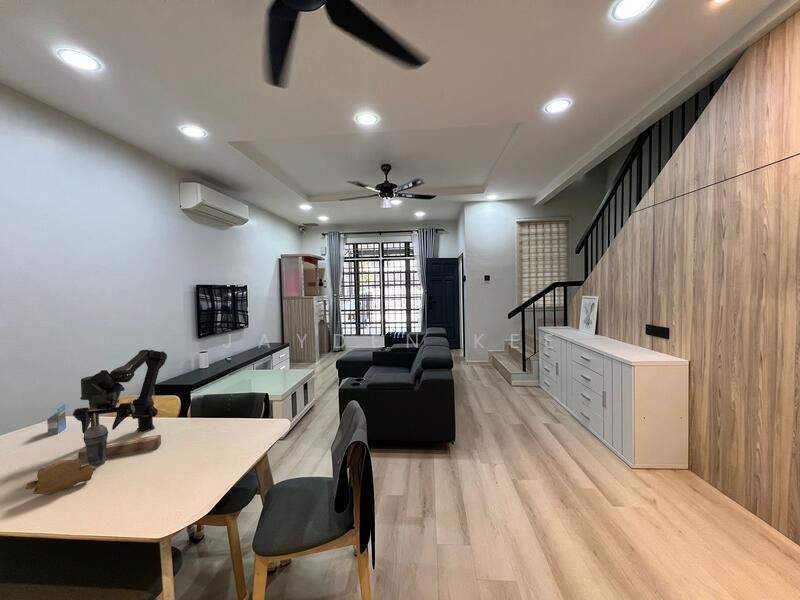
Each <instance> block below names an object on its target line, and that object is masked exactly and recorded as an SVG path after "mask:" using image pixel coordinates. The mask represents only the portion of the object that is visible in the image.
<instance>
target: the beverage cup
mask: <svg viewBox="0 0 800 600" xmlns="http://www.w3.org/2000/svg"><path fill="white" fill-rule="evenodd" d="M108 437H109V431H108V427H106V426H105V425H103V424H100V423H99V424H96V416H95V413H94V425H93V426H91V425H90V426H88V429H87V430H86V431H85V433H84V434H83V437H82V439H83V442H84V445H85V447H86V451H87V457H88V461H87V463H88V465H95V468H97V466H98V467H100V465H101V466H102V464H103V465H104V464H106V444H107V443H108Z"/></svg>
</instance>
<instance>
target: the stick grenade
mask: <svg viewBox="0 0 800 600" xmlns="http://www.w3.org/2000/svg"><path fill="white" fill-rule="evenodd" d="M93 376H94V375H91V376H90V375H89V376H85V377H82V378H80V393H81V396H80V398H79V400H81V401H88V404H89V405H88V406H89V407H88V408H89V409H90V410H97V408H95V407H94V406H95V404H92V399H93V396H96V395H102V394H103V392H104V391H100V390H99V389H97V388H96V387H95V386H94V385H92V384H91V383H90V379H91V377H93ZM99 415H100V414H97V415H95V416H96V424H100V417H99ZM90 420H91V422H90V427H91V426H93V425H94V415H92V417H91V418H90Z"/></svg>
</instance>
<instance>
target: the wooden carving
mask: <svg viewBox="0 0 800 600" xmlns="http://www.w3.org/2000/svg"><path fill="white" fill-rule="evenodd" d="M96 468H97V467H95V465H89V464H85V465H82V462H80V460H79V459H78V458H76V459H65V460H60V461H58V462H54V463H52V464H49V465H47V466H46V467H44V468H40V469H39V470H38V471H37V475H36V478H37V480H33V481H29V482H28V483H27V484H26V487H25V490H31V489H33V494H34V495H53V494H57V493H56V492H58V493H60V492H59V491H61V492H63V491H62V490H64V491H66V490H65V489H67V490H69V489H71V488H72V487H75V486H76V485H78V484H80V483H85V482H88V481H90V480H91V479H92V476H93V475H94V472H95V471H96V470H97V469H96ZM68 488H69V489H68Z"/></svg>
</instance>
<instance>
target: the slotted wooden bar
mask: <svg viewBox="0 0 800 600" xmlns="http://www.w3.org/2000/svg"><path fill="white" fill-rule="evenodd" d="M161 444H162V435H161V434H156V435H152V436H145V437H137V438H133V439H126V440H122V441H121V440H120V441H115V442H107V444H106V458H113V457H116V456H117V457H118V456H123V454H124V455H129V454H134V452H135V453H140V451H141V452H146V451H152V450H156V449H157V448H158V449H159V448H160V446H161ZM151 449H152V450H151ZM145 450H146V451H145ZM77 456H78V457H77V459H79V460H80V462H81V463H84V461H85V462H88V457H87V451H86V446H84V447H83V448H82V449H80V450H79V451H78V452H77Z"/></svg>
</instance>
